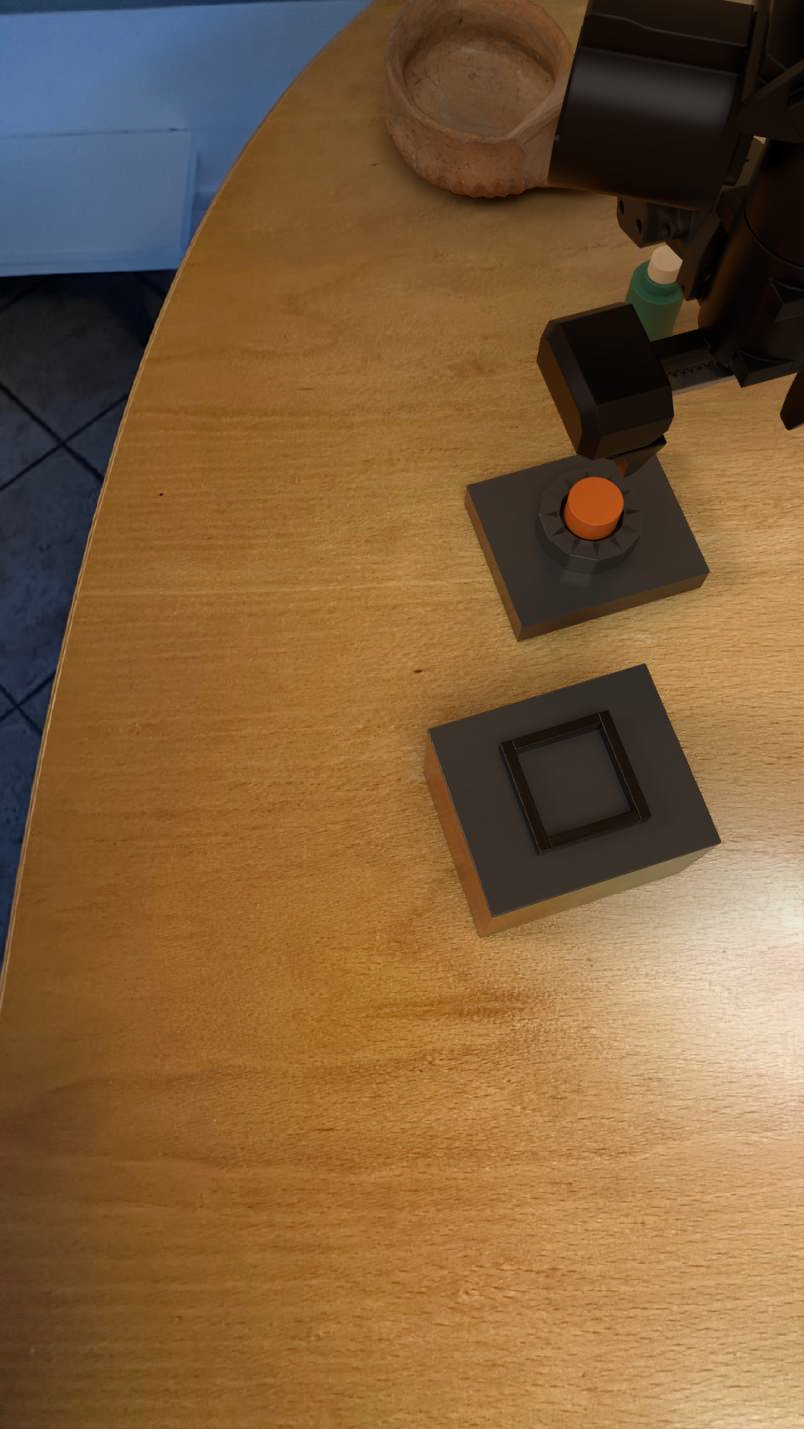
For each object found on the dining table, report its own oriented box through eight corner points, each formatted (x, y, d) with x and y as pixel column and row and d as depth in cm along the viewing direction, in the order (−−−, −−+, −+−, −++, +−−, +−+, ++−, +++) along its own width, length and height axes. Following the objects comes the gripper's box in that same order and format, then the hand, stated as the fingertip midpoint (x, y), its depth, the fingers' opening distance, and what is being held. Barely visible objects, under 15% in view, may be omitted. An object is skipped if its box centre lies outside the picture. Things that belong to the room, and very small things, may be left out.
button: (606, 486, 63) (611, 470, 62) (625, 531, 62) (632, 516, 61) (555, 500, 63) (560, 485, 61) (575, 546, 62) (580, 531, 60)
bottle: (661, 302, 72) (686, 230, 66) (678, 345, 71) (704, 275, 65) (611, 312, 72) (631, 240, 66) (627, 355, 71) (649, 286, 65)
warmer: (615, 712, 63) (650, 654, 54) (681, 872, 59) (728, 838, 51) (422, 772, 61) (427, 722, 53) (479, 938, 58) (493, 914, 50)
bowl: (646, 72, 77) (675, -31, 67) (610, 258, 77) (634, 181, 67) (406, 33, 78) (400, -75, 68) (369, 216, 77) (357, 134, 67)
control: (639, 454, 68) (654, 417, 65) (700, 587, 65) (719, 557, 61) (464, 503, 67) (468, 469, 63) (517, 642, 64) (525, 614, 60)
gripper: (942, 8, 43) (803, 280, 58) (513, 112, 41) (482, 367, 56) (1079, 213, 40) (894, 447, 55) (618, 337, 38) (556, 545, 53)
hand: (704, 445), depth 55 cm, fingers open, 9 cm apart
